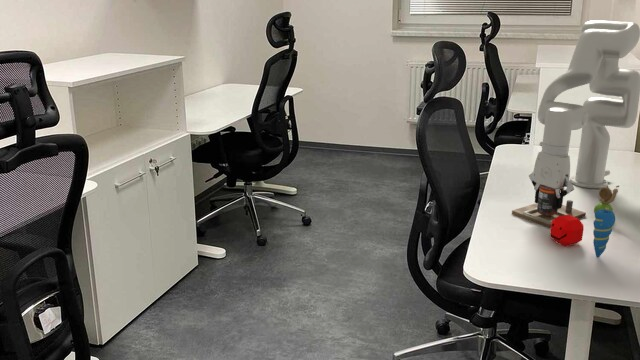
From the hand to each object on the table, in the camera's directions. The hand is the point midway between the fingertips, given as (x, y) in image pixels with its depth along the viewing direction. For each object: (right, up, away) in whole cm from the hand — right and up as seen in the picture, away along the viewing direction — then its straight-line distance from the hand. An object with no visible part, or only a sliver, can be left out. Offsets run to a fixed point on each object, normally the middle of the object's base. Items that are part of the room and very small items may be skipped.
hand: (547, 204), depth 190 cm
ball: (-1, -10, -15) cm, 18 cm away
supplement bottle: (0, -3, +1) cm, 3 cm away
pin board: (+2, -3, +5) cm, 6 cm away
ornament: (+5, -13, -24) cm, 28 cm away
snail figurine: (+18, -5, +2) cm, 19 cm away
